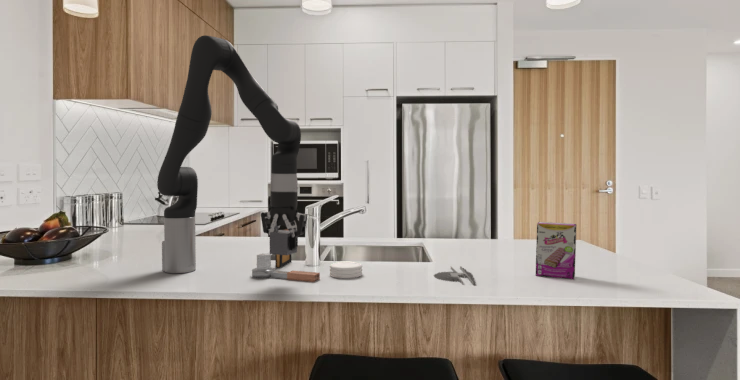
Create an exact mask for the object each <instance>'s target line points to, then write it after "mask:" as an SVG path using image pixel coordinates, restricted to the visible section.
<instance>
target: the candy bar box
mask: <svg viewBox="0 0 740 380" xmlns="http://www.w3.org/2000/svg"><path fill="white" fill-rule="evenodd" d="M535 247H536V250H535V252H536V253H535V254H536V255H535V276H536V277H537V276H538V277H545V278H556V279H567V280H575V277H576V256H577V254H576V253H577V252H576V250H577V248H576V247H577V223H566V222H552V221H538V222H537V223H536V246H535Z"/></svg>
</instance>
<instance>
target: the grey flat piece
mask: <svg viewBox="0 0 740 380" xmlns="http://www.w3.org/2000/svg"><path fill="white" fill-rule="evenodd" d="M459 270H461V272H458V271H457V270H456V269H455V268H454V267H452V266H450V271H441V272H440V271H439V272H437V273H434V274H433V277H434V278H436V279H437V280H440V281H445V282H455V283H458V282H459V283H461V285H464V281H463V280H462V279H461V278H463V279H464V278H465V279H467V280H468V281H469V282H470V283H471V285H472V286H476V280H475V278H474V275H473V273H472V272H469V271H468V270H467V269H466V268H464V267H463V266H459Z"/></svg>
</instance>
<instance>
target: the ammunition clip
mask: <svg viewBox="0 0 740 380" xmlns="http://www.w3.org/2000/svg"><path fill="white" fill-rule="evenodd" d="M285 230H287V231H289V230H288V229H287V228H285ZM274 261H275V262H274V263H275V266H274V268H275V269H282V268H283V267H286V266H287V265H288V264H290V263H292V254H290V255H277V254H275V259H274Z"/></svg>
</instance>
